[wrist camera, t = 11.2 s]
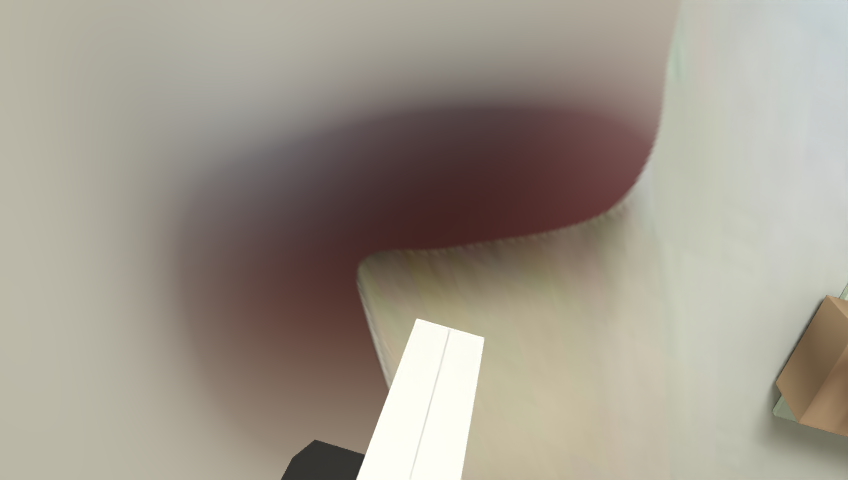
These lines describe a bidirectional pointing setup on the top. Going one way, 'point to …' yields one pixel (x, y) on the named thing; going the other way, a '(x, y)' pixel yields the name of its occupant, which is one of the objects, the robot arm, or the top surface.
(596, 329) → the top surface
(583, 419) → the top surface
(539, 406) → the top surface
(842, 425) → the walnut block
